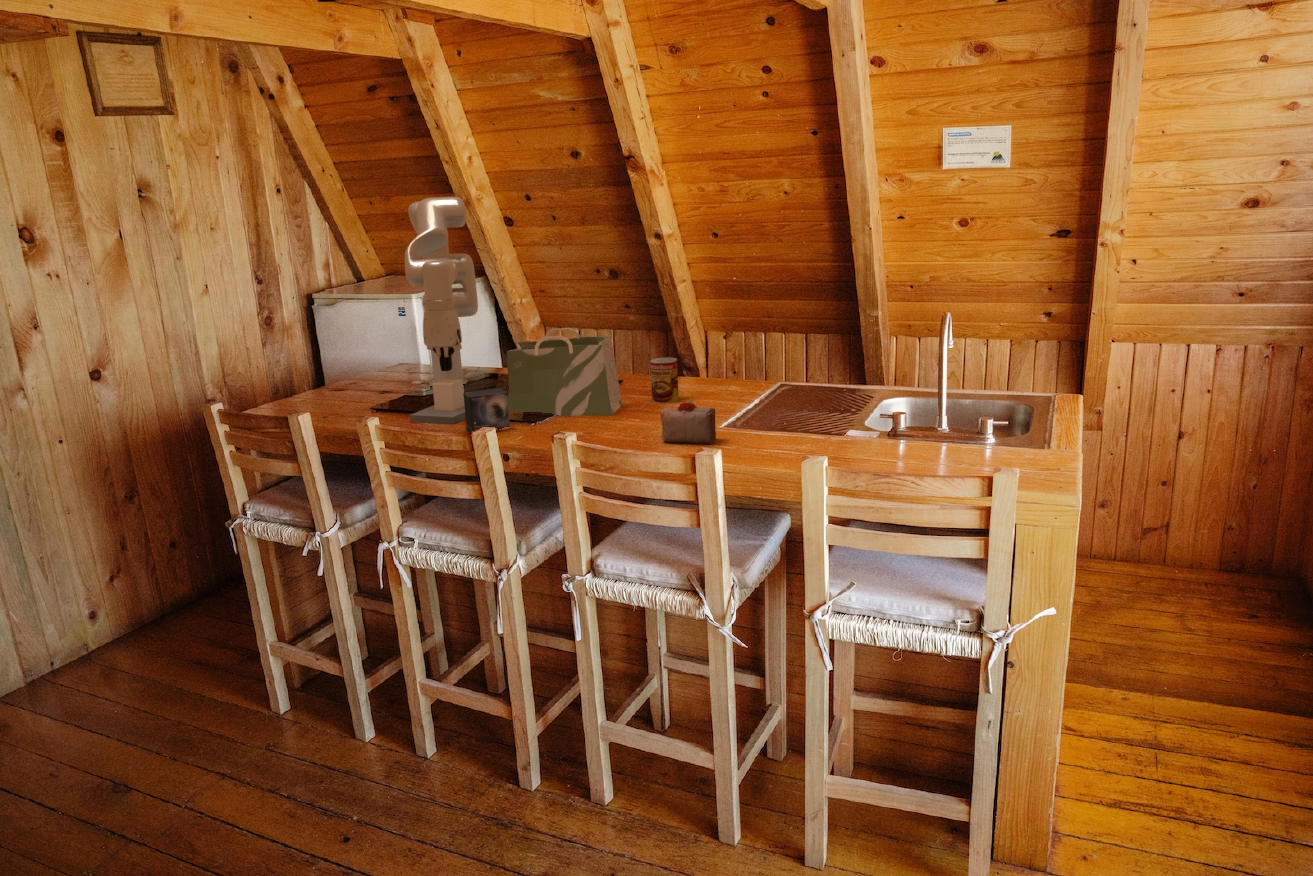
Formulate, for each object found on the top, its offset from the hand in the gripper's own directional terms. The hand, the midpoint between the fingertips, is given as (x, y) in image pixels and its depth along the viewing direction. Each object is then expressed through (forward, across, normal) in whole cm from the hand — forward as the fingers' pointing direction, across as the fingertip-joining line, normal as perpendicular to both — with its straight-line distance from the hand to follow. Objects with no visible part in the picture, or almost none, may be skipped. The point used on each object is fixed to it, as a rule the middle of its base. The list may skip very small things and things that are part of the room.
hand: (446, 370), depth 270 cm
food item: (+14, +76, -14) cm, 79 cm away
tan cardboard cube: (+11, 0, 0) cm, 11 cm away
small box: (+13, +20, -14) cm, 28 cm away
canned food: (+13, +56, +27) cm, 64 cm away
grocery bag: (+13, +31, +11) cm, 35 cm away
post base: (+13, 0, 0) cm, 13 cm away
